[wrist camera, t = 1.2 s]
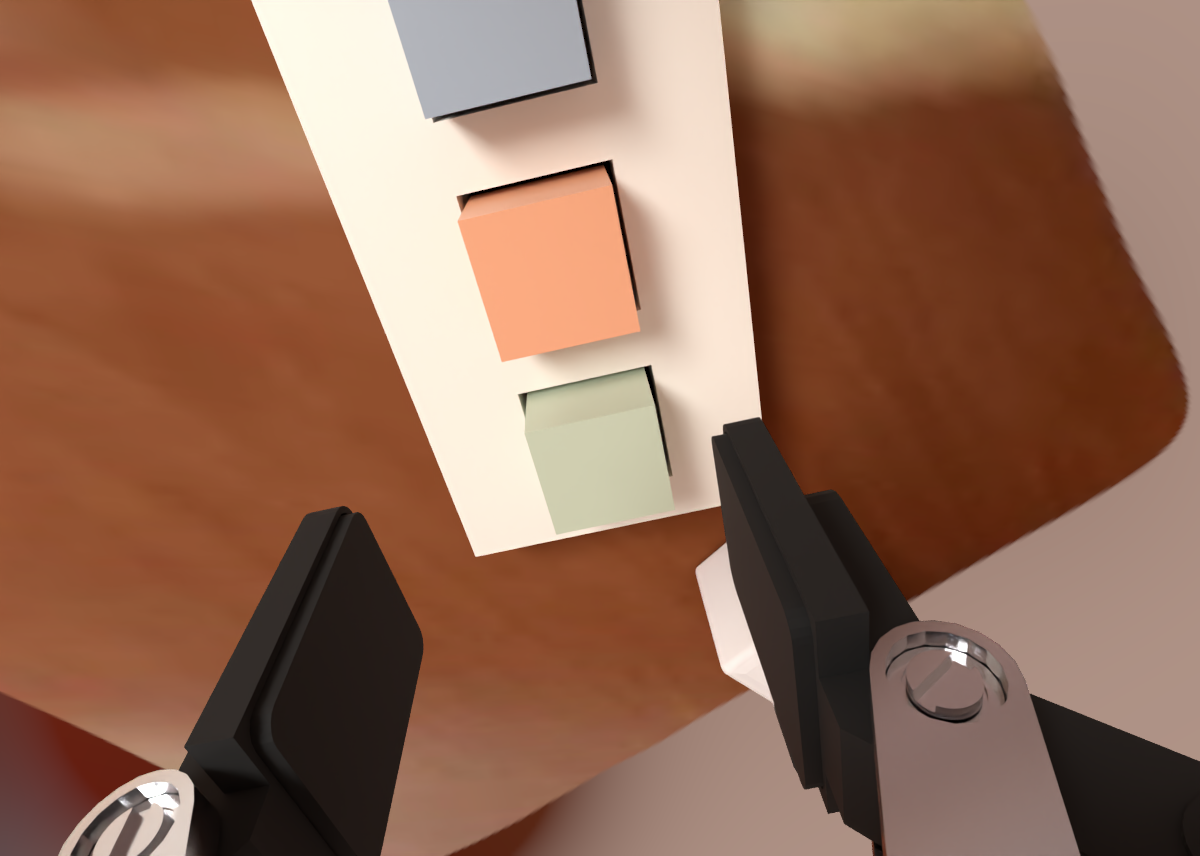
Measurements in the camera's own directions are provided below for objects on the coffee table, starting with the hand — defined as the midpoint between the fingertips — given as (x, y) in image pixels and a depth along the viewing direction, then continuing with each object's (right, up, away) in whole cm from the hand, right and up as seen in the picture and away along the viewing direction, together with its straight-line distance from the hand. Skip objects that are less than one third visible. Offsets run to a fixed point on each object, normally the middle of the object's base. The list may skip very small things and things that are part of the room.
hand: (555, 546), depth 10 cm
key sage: (+1, +2, +19) cm, 19 cm away
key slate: (-3, +16, +11) cm, 19 cm away
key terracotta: (-1, +9, +15) cm, 18 cm away
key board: (-1, +10, +17) cm, 19 cm away
